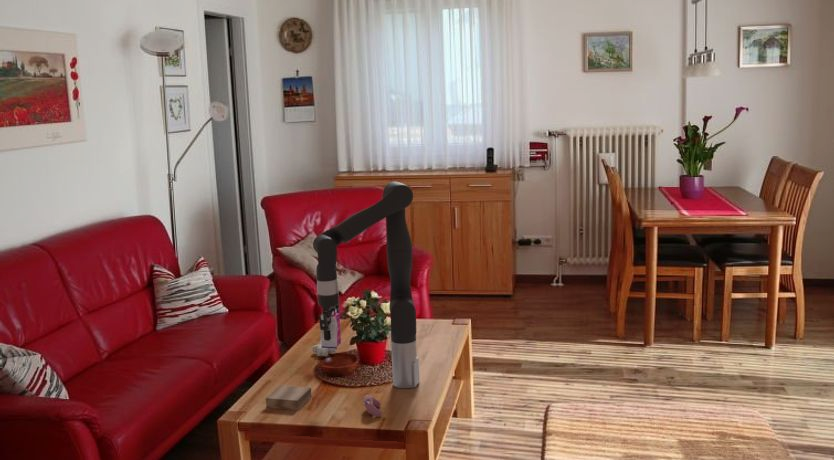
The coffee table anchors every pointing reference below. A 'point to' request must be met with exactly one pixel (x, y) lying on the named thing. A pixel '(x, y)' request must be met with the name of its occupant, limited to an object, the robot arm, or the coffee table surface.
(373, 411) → the pink rounded lump
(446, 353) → the coffee table surface
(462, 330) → the coffee table surface
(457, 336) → the coffee table surface
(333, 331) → the supplement box
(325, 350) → the bunny figurine
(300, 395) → the grey wooden square block
